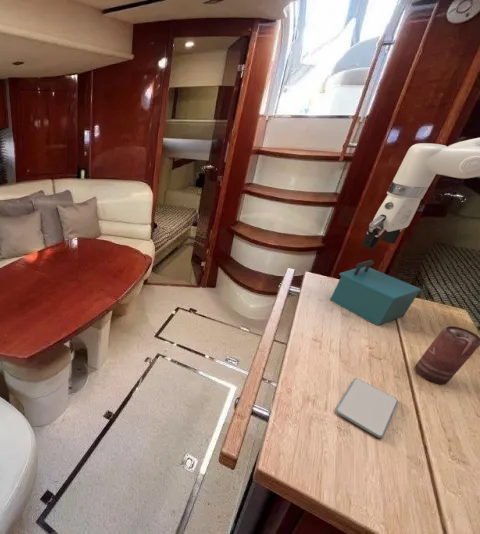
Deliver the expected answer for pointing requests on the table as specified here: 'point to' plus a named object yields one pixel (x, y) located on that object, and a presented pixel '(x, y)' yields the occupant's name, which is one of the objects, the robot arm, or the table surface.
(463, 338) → the can
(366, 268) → the cooler lid
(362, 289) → the box
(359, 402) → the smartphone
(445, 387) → the table surface
